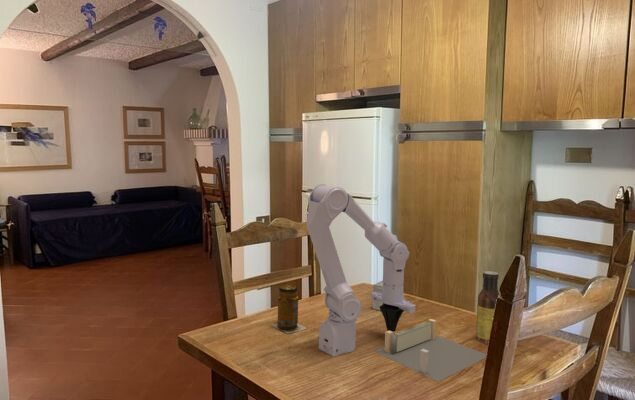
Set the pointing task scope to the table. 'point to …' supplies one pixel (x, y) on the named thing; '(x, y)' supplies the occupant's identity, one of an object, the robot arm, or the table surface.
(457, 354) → the grey square baseplate
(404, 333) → the gate
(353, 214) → the robot arm
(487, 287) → the sauce bottle
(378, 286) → the medicine box
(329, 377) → the table surface
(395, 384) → the table surface
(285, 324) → the condiment
